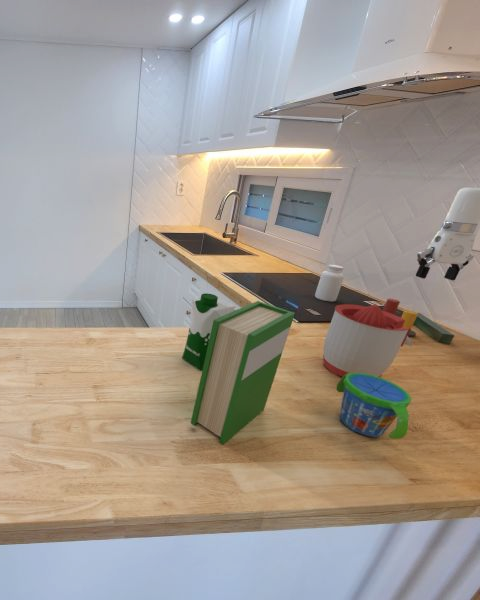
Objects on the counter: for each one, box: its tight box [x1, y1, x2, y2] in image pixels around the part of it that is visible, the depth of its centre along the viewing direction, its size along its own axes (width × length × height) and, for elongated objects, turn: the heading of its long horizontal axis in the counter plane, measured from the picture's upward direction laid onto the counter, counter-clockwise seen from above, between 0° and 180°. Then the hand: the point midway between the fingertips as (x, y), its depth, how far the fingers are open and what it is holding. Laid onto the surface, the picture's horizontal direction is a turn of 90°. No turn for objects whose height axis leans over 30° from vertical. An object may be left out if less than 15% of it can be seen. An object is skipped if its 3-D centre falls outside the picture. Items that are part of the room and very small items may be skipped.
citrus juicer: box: [322, 303, 413, 378], centre depth 89 cm, size 16×17×20 cm
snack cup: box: [335, 373, 412, 440], centre depth 71 cm, size 16×10×10 cm
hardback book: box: [190, 300, 296, 446], centre depth 69 cm, size 18×7×24 cm, turn 129°
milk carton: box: [182, 292, 236, 372], centre depth 90 cm, size 9×9×20 cm
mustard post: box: [400, 309, 419, 338], centre depth 118 cm, size 7×7×8 cm
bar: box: [413, 312, 455, 345], centre depth 121 cm, size 3×20×3 cm, turn 161°
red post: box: [382, 298, 401, 315], centre depth 128 cm, size 7×7×8 cm
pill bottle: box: [314, 264, 345, 302], centre depth 146 cm, size 8×8×15 cm
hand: (434, 278), depth 115 cm, fingers open, 9 cm apart
